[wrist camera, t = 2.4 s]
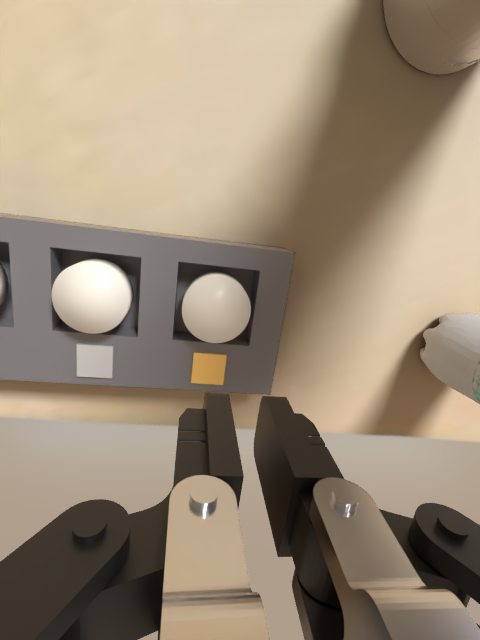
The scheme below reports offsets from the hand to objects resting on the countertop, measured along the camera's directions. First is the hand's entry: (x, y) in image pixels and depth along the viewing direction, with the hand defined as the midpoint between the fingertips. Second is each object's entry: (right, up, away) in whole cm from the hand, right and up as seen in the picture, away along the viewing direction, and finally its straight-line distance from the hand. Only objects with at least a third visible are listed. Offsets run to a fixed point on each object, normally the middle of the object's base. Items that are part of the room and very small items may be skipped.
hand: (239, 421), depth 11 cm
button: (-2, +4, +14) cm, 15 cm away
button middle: (-10, +5, +13) cm, 17 cm away
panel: (-10, +5, +15) cm, 19 cm away
